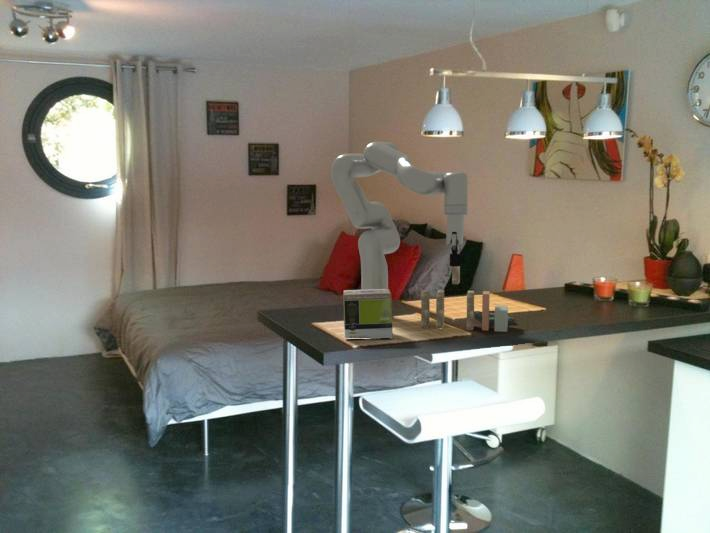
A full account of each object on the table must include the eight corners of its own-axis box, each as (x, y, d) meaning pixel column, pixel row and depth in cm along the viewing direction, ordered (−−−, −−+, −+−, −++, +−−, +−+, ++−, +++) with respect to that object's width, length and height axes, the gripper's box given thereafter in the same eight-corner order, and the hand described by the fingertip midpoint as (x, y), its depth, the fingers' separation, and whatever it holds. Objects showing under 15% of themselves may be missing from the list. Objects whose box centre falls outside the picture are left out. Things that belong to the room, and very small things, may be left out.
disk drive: (472, 318, 256) (486, 327, 241) (472, 311, 256) (486, 318, 241) (499, 317, 258) (515, 325, 243) (499, 309, 257) (515, 317, 243)
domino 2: (436, 328, 238) (436, 293, 237) (438, 324, 244) (438, 290, 242) (442, 328, 238) (442, 293, 236) (444, 325, 243) (444, 290, 242)
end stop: (494, 331, 233) (494, 310, 232) (495, 326, 241) (495, 305, 240) (507, 331, 232) (507, 310, 231) (507, 326, 240) (507, 305, 239)
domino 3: (452, 284, 235) (452, 247, 233) (453, 281, 241) (453, 245, 239) (458, 284, 234) (458, 247, 233) (459, 281, 240) (459, 245, 239)
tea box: (390, 332, 233) (389, 287, 231) (392, 339, 223) (392, 293, 221) (343, 333, 233) (343, 288, 231) (344, 340, 223) (343, 294, 221)
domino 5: (482, 330, 235) (482, 294, 233) (483, 326, 240) (483, 291, 239) (488, 330, 234) (488, 294, 233) (489, 326, 240) (489, 291, 238)
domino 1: (421, 328, 239) (421, 292, 238) (423, 324, 245) (423, 289, 243) (427, 328, 239) (427, 292, 237) (429, 324, 245) (429, 289, 243)
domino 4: (466, 329, 236) (466, 293, 234) (468, 325, 242) (468, 290, 240) (472, 330, 235) (473, 293, 234) (474, 326, 241) (474, 290, 240)
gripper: (447, 209, 244) (447, 261, 246) (441, 211, 227) (441, 268, 229) (469, 208, 242) (469, 261, 244) (465, 211, 225) (465, 268, 228)
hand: (455, 264), depth 237 cm, fingers closed on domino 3, 6 cm apart
